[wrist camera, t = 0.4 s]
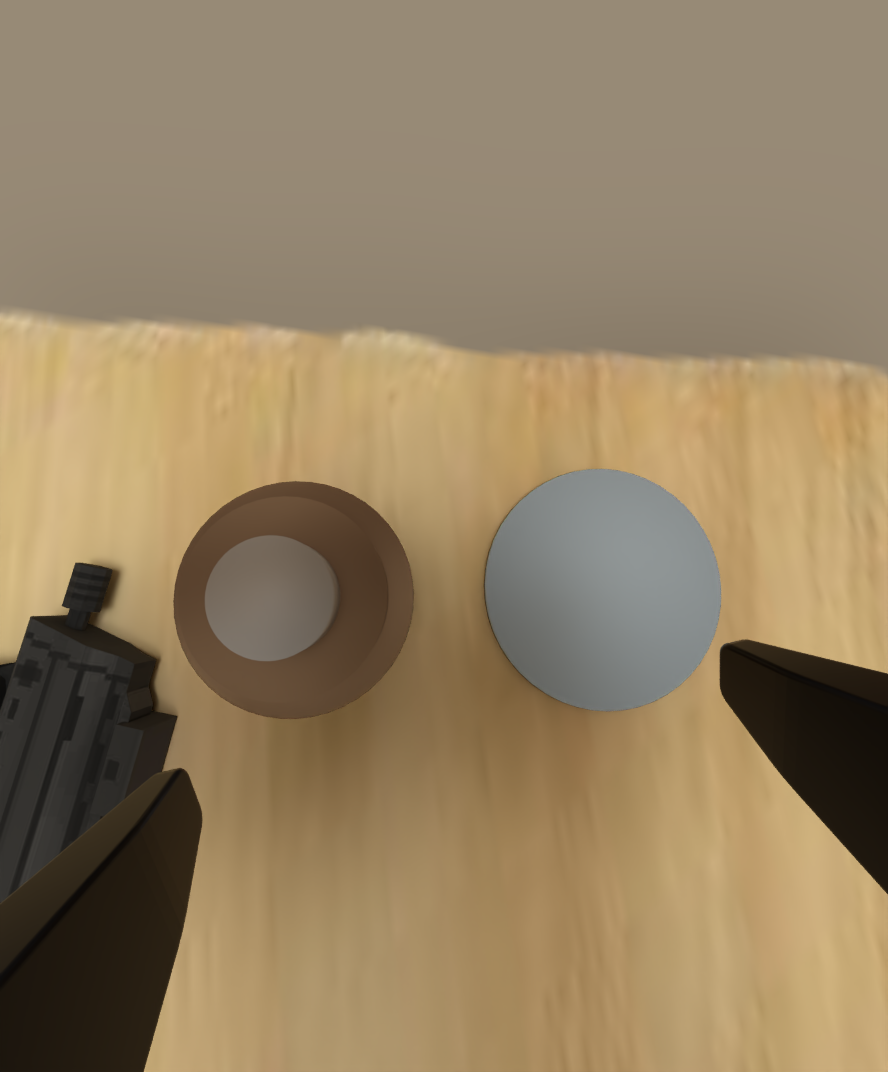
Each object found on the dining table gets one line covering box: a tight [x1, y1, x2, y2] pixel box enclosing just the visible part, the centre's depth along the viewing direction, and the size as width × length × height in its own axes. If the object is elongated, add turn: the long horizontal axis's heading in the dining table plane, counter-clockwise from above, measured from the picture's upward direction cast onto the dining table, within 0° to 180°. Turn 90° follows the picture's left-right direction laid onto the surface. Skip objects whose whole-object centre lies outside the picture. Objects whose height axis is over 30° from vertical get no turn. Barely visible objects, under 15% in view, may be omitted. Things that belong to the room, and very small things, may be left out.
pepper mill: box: [174, 481, 414, 719], centre depth 17 cm, size 6×6×13 cm
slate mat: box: [484, 469, 721, 711], centre depth 24 cm, size 11×11×1 cm
